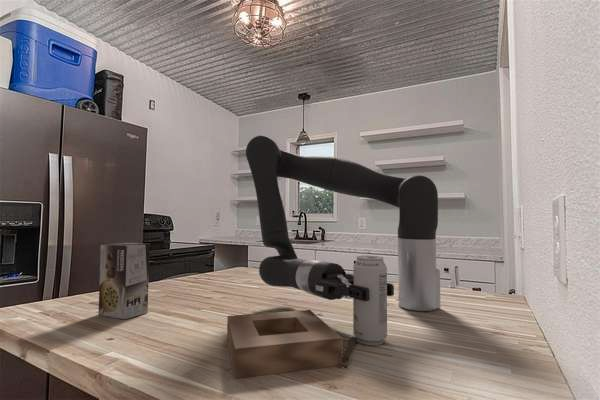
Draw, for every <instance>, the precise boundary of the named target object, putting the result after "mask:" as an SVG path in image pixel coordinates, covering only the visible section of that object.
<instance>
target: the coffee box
mask: <svg viewBox="0 0 600 400" xmlns="http://www.w3.org/2000/svg"><path fill="white" fill-rule="evenodd" d="M150 246H151V243H142V242H115V243H108V244H107V243H106V244H100V255H99V258H100V259H99V260H100V261H99V287H98V290H99V291H98V292H99V293H98V316H103V317H108V318H109V317H110V318H115V319H121V320H127V319H130V318H131V319H132V318H135V317H137V316H141V315H145V314H147V313H148V311H149V308H148V307H149V305H148V304H149V281H150V280H149V279H150V278H149V277H150V273H149V272H150V248H151V247H150Z"/></svg>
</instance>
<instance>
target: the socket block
mask: <svg viewBox="0 0 600 400" xmlns="http://www.w3.org/2000/svg"><path fill="white" fill-rule="evenodd" d="M226 323H227V327H226V329H227V330H226V339H227V345H228V350H229V356H230V361H231V367H232V372H233V379H243V378H249V377H257V376H267V375H273V374H282V373H291V372H298V371H305V370H307V371H308V370H314V369H320V368H321V369H322V368H323V369H324V368H329V367H330V368H331V367H338V366H339V363H341V362H342V356H343V337H342V336H341V335H340V334H338V333H337V332H336V331H335V330H334V329H333V328H331V327H330V326H329V325H328V324H327V323H326V322H325V321H324V320H322V319H321V318H319V317H318V315H316V314H315V312H313V311H312V310H311V309H306V310H305V309H304V310H303V309H302V310H291V311H278V312H277V311H276V312H275V311H274V312H264V313H249V314H237V315H227V322H226Z"/></svg>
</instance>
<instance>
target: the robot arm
mask: <svg viewBox="0 0 600 400" xmlns="http://www.w3.org/2000/svg"><path fill="white" fill-rule="evenodd" d="M245 157H246V160H247V163H248V165H249V169H250V172H251V176H252V180H253V183H254V188H255V193H256V199H257V209H258V216H259V217H258V218H259V225H260V232H261V240H262V244H263V245H264V247H265V248H271V249H272V248H273V249H275V250H276V252H277V253H278V255H273V256H268V257H266V258H263V260H262V261H261V262H260V264H259V268H258V272H259V273H258V274H259V277H260V279H261V280H262V281H263V282H264V283H265V284H266V285H269V286H272V287H280V288H281V287H283V288H284V287H285V288H294V289H296V290H300V291H302V292H305V293H307V294H310V295H311V296H315V297H318V298H319V297H320V298H322V299H325V300H327V301H328V300H329V301H333V300H334V301H335V300H342V298H345V299H347V300H348V299H353V298H354V299H358V300H362V301H369V289H368V288H366V287H361V286H357V285H353V273H351V272H346V271H345V270H344V267H342V265H340V264H339V263H335V262H328V261H322V260H316V259H315V260H313V259H311V260H309V259H304V258H298V256H297V253H296V251H295V248H294V246H293V243H292V241H291V239H290V236H289V230H288V229H289V228H288V221H287V218H286V212H285V207H284V204H283V200H282V196H281V192H280V187H279V182H278V177H279V178H285V179H292V180H295V181H298V182H300V183H304V184H306V185H310V186H312V187H316V188H319V189H324V190H327V191H330V192H333V193H338V194H341V195H346V196H351V197H358V198H364V199H370V200H375V201H378V202H379V201H380V202H382V203H386V204H388V205H391V206H393V207H396V208H398V209H399V211H398V212H399V220H398V226H397V266H398V267H397V273H398V274H397V277H398V279H397V281H398V282H397V283H398V286H397V287H398V288H397V289H398V294H397V295H398V298H397V299H398V306H399V307H401V308H403V309H405V310H410V311H418V312H429V311H430V312H432V311H436V310H437V309H441V270H440V269H439V268H437V229H438V222H439V193H438V189H437V188H438V187H437V186H436V184H435V183H434V181H433V180H432V179H431V178H430V177H427V176H424V175H419V174H418V175H412V176H410V177H408V178H406V177H405V178H404V177H399V176H398V177H397V176H392V175H386V174H383V173H380V172H378V171H376V170H373V169H371V168H369V167H367V166H365V165H362V164H360V163H357V162H355V161H351V160H349V159H348V160H347V159H344V158H341V157H336V156H330V155H300V154H296V153H292V152H290V151H286V150H283V149H281V148H279V146H278V144H277V143H276V141H275V140H274V139H272V137H269V136H267V135H256V136H254V137H253V138H251V139H249V141H248V143H247V144H246V148H245ZM394 295H395V286H394V284H393V283H390V282H387V297H393V296H394Z"/></svg>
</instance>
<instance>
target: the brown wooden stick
mask: <svg viewBox="0 0 600 400" xmlns="http://www.w3.org/2000/svg"><path fill="white" fill-rule="evenodd" d="M356 342H357V340H356V337H355V336H350V337H349V340H348V342H347V346H346V347H345V348H344V351H343V353H342V362H341V363H339V366H337V368H339V369H348V367H349V364H350V360H351V356H352V355H353V351H354V349H355V345H356Z"/></svg>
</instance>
